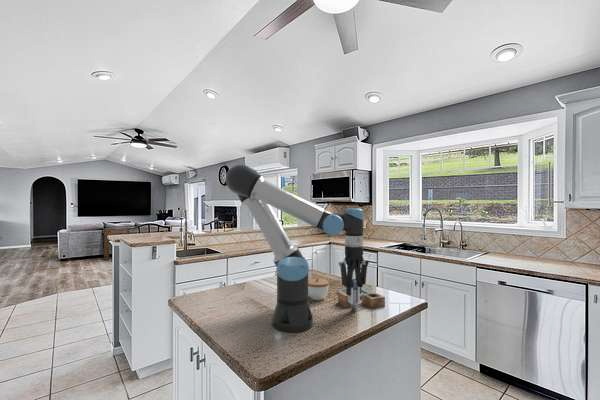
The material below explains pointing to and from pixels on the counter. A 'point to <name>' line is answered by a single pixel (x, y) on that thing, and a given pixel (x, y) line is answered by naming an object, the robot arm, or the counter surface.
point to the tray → (360, 294)
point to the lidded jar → (317, 288)
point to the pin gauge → (354, 295)
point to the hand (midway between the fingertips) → (353, 302)
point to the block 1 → (343, 299)
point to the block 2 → (373, 300)
